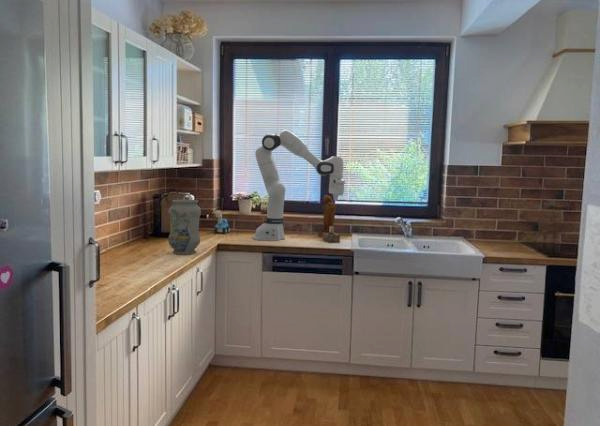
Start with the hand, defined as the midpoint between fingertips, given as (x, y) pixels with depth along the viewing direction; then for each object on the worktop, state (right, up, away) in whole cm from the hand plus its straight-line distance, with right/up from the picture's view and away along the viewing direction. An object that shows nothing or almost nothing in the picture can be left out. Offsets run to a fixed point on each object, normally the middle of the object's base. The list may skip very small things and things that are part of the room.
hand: (335, 201), depth 335 cm
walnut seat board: (-3, -27, +2) cm, 27 cm away
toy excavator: (-81, -23, +22) cm, 87 cm away
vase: (-89, -31, -54) cm, 109 cm away
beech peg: (-3, -27, +2) cm, 27 cm away
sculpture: (-5, -25, +21) cm, 34 cm away
